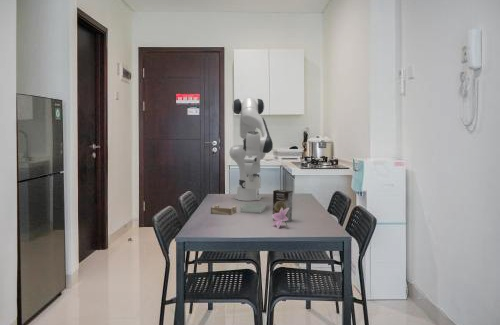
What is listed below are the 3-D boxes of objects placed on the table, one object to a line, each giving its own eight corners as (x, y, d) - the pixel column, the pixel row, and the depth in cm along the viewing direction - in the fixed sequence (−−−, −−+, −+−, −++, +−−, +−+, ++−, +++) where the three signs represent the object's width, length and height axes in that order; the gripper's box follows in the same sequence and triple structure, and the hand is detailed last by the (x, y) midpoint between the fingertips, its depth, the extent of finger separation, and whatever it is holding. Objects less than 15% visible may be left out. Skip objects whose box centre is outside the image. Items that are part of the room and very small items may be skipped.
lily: (272, 225, 218) (265, 210, 215) (293, 216, 218) (287, 202, 214) (276, 237, 207) (269, 222, 204) (298, 228, 207) (291, 213, 203)
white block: (247, 187, 255) (248, 173, 255) (260, 188, 253) (260, 174, 252) (245, 188, 251) (245, 174, 250) (258, 189, 248) (258, 174, 248)
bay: (217, 210, 254) (217, 204, 254) (236, 211, 250) (236, 205, 250) (210, 213, 245) (210, 207, 244) (230, 214, 241) (230, 208, 241)
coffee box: (272, 220, 226) (272, 190, 225) (277, 218, 232) (277, 189, 231) (287, 221, 222) (288, 191, 221) (292, 219, 228) (292, 190, 226)
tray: (245, 209, 259) (245, 204, 259) (264, 210, 256) (264, 205, 256) (240, 211, 250) (240, 207, 250) (260, 213, 246) (260, 208, 246)
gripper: (253, 157, 261) (253, 179, 262) (242, 159, 242) (242, 182, 243) (262, 157, 260) (262, 179, 260) (253, 159, 240) (253, 183, 241)
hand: (253, 181), depth 252 cm, fingers closed on white block, 5 cm apart
